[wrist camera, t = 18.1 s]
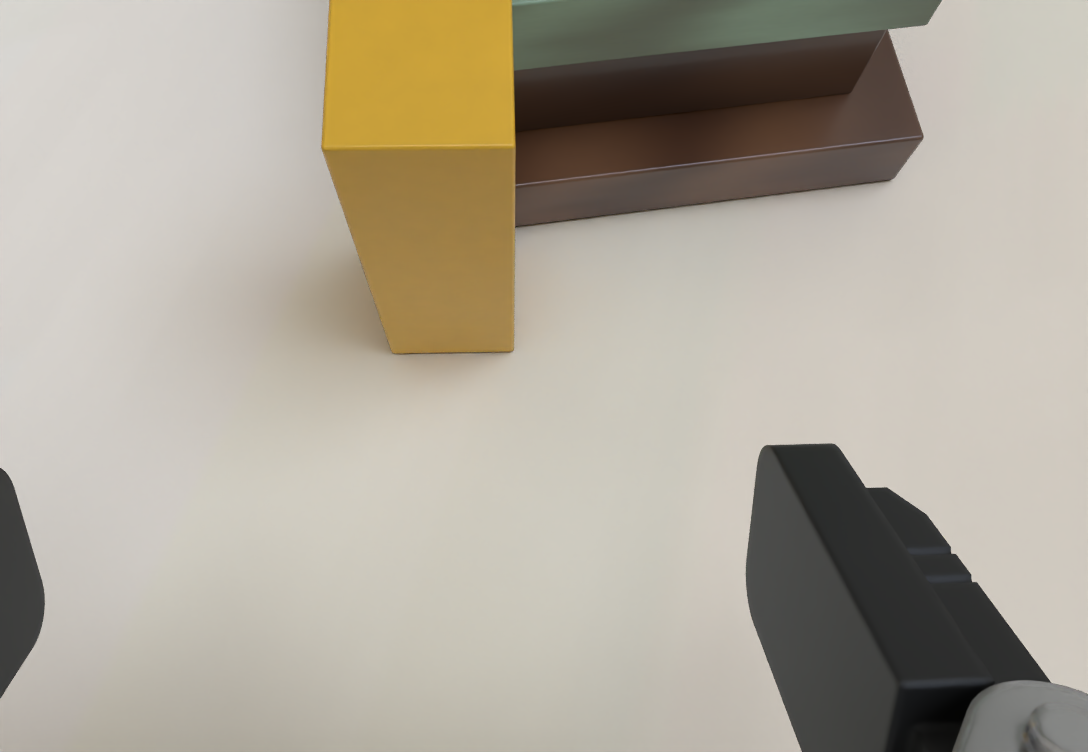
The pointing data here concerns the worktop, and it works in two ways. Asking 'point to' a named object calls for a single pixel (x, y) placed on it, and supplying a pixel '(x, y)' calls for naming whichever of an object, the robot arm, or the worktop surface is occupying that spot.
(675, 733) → the worktop surface
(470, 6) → the bar
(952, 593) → the robot arm
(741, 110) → the two-tone stepped base
